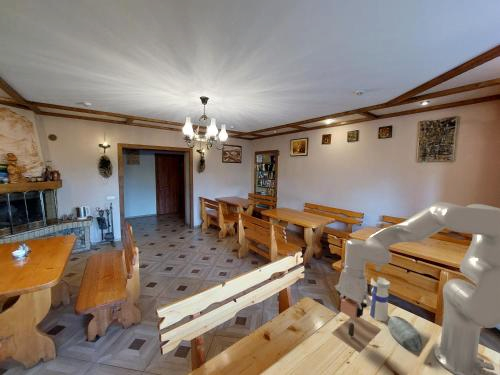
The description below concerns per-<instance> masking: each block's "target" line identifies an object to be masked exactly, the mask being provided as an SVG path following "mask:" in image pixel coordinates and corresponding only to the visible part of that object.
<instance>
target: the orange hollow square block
mask: <svg viewBox="0 0 500 375" xmlns="http://www.w3.org/2000/svg"><path fill="white" fill-rule="evenodd" d="M357 308H358V303H357V302H356V301H354V300H352V299H350V298H348V297H345V298H343V299H342V300H341V299H340V310H339V311H340V312H341V313H343V314H344V315H346V316H348V317H349V318H353V319H354V320H355V319H356V318H357Z"/></svg>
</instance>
